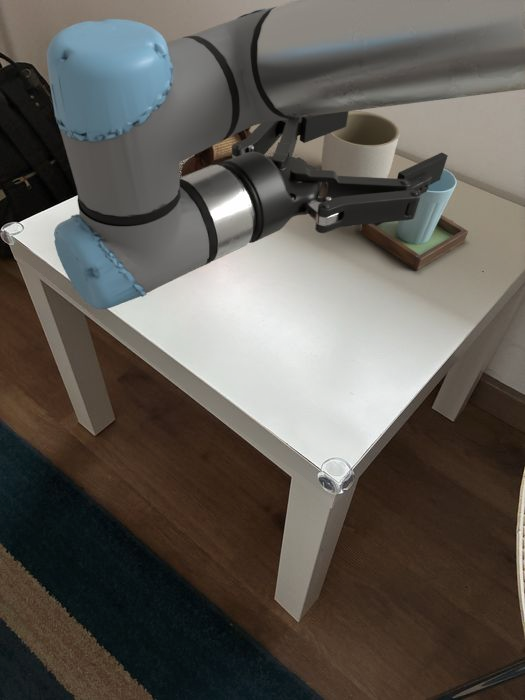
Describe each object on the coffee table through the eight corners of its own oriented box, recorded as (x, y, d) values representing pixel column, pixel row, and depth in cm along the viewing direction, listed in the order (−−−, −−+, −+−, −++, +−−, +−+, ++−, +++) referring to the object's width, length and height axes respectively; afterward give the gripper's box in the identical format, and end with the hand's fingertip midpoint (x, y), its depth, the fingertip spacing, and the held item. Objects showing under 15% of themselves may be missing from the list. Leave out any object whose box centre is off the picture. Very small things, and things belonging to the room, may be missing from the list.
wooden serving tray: (464, 242, 89) (468, 231, 87) (416, 271, 84) (420, 259, 82) (408, 207, 95) (411, 196, 93) (360, 232, 90) (363, 221, 88)
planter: (398, 197, 97) (414, 139, 89) (337, 210, 93) (347, 151, 85) (364, 162, 104) (375, 106, 96) (306, 173, 101) (313, 116, 93)
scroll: (236, 155, 104) (237, 43, 89) (279, 192, 96) (288, 76, 81) (167, 175, 98) (156, 59, 83) (207, 216, 91) (203, 96, 75)
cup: (402, 214, 92) (418, 158, 84) (444, 232, 89) (464, 175, 82) (381, 235, 88) (396, 179, 80) (424, 254, 85) (444, 198, 77)
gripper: (161, 180, 57) (308, 126, 67) (322, 314, 45) (474, 224, 54) (153, 110, 52) (315, 61, 61) (335, 241, 39) (502, 155, 49)
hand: (390, 138), depth 58 cm, fingers open, 13 cm apart
